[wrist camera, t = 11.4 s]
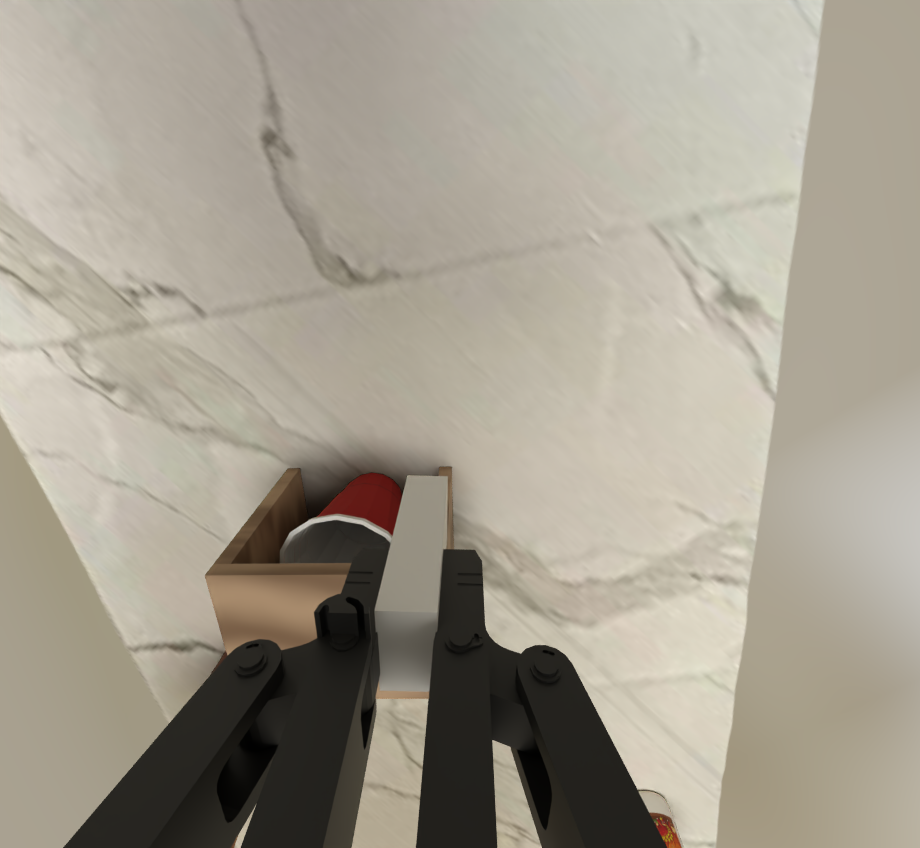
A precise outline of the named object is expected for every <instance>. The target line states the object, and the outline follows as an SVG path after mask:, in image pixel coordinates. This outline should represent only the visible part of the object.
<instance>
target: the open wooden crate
mask: <svg viewBox="0 0 920 848" xmlns="http://www.w3.org/2000/svg"><path fill="white" fill-rule="evenodd" d="M439 476H448V500H447V546H446V549H454V538H453V501H452V467H439ZM307 521H308V514H307V508H306V502H305V496H304V490H303V484H302V478H301V472H300V468H288V469H287V470H286V472H285V473H284V474H283V476H282V477H281V478H280V479H279V481H278V482H277V483H276V485H275V486H274V487H273V488H272V490H271V491H270V492H269V494H268V495H267V496H266V497H265V499H264V500H263V501H262V503H261V504H260V505H259V506H258V508H257V509H256V510H255V512H254V513H253V514H252V515H251V517H250V518H249V519H248V521H247V522H246V523H245V524H244V526H243V527H242V528H241V530H240V531H239V532H238V533H237V535H236V536H235V537H234V539H233V540H232V541H231V542H230V544H229V545H228V546H227V548H226V549H225V550H224V551H223V553H222V554H221V555H220V557H219V558H218V559H217V560H216V562H215V563H214V564H213V566H212V567H211V568H210V569H209V571H208V572H207V573H206V575H205V578H206V582H207V585H208V589H209V592H210V596H211V599H212V603H213V607H214V610H215V614H216V617H217V621H218V624H219V628H220V631H221V635H222V638H223V642H224V645H225V649H226V652H227V656H228V655H229V654H230V653H231V652H232V651H233V650H234V649H235V648H237V647H239V646H240V645H242V644H244V643H246V642H249V641H253V640H257V639H266V640H271V641H273V642H275V643H277V644H278V646H279V648H280V649H281V650H284V649H288V648H292V647H296V646H300V645H303V644H306V643H309V642H311V641H313V640H314V639H316V638H317V632H316V625H315V618H314V611H315V610H316V608H317V607H318V605H319V604H320V603H322V602H323V601H324V600H326V599H327V598H329V597H331V596H334V595H336V594H341V592H342V589H343V586H344V584H345V580H346V577H347V575H348V573H349V569H350V566H351V563H280V549H281V548H282V546H283V544H284V542H285V541H286V539H287V537H288V535H289V533H290V532H291V531H293V530H294V529H296V528H298V527H299V526H301V525H302V524H304V523H305V522H307ZM376 699H429V692H416V691H380V686H379V683H378V688H377V693H376Z"/></svg>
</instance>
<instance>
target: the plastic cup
mask: <svg viewBox="0 0 920 848" xmlns="http://www.w3.org/2000/svg"><path fill="white" fill-rule="evenodd" d="M401 500H402V493H401V490H400V488H399V486H398V485H397V484H396V483H395V482H394V481H393V479H391V478H389V477H387V476H385V475H383V474H377V473H368V474H363V475H360V476H359V477H357V478H356V479H354V480H353V481H351V482H350V483H349V484H348V485H347V486H346V488H345V489H344V490H343V491H342V492H340V493H339V494H338V495H337V496H336V497H335V498H334V499H333V500H332V501H331V502H330V504H329V505H328V506H327V507H326V508H325V509H324V510H323V511H322V512H321V513H320V514H319V515H318V516H317V517H315V518H312V519H310V520H308V521H307V522H305V523H304V524H302V525H301V526H299V527H298V528H296V529H294V530H293V531H291V532H290V533H289V535H288V537H287V539H286V541H285V542H284V544H283V546H282V548H281V549H280V563H352V560H353V558H354V557H355V556H356V555H357V554H358V553H359V552H360V551H361V550H362V549H363V548H376V549H390V545H391V541H392V536H393V532H394V528H395V524H396V520H397V516H398V512H399V508H400V504H401Z"/></svg>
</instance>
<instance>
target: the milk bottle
mask: <svg viewBox="0 0 920 848" xmlns="http://www.w3.org/2000/svg"><path fill="white" fill-rule="evenodd" d="M638 792H639V794H640V796H641V798H642V800H643V801H644V803H645V805H646V807H647V809H648V811H649V813H650V815H651V817H652V819H653V821H654V823H655V825H656V827H657V828H658V830H659V832H660V834H661V836H662V838H663V840H664V842H665V844H666V846H667V848H684V847H683V844H682V841H681V838H680V836H679V833H678V830H677V827H676V825H675V822H674V819H673V816H672V814H671V811H670V808H669V806H668V803H667V802H666V800H665V799H664V798H663V797H662V796H661V795H659V794H657V793H654V792H650V791H638Z"/></svg>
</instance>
